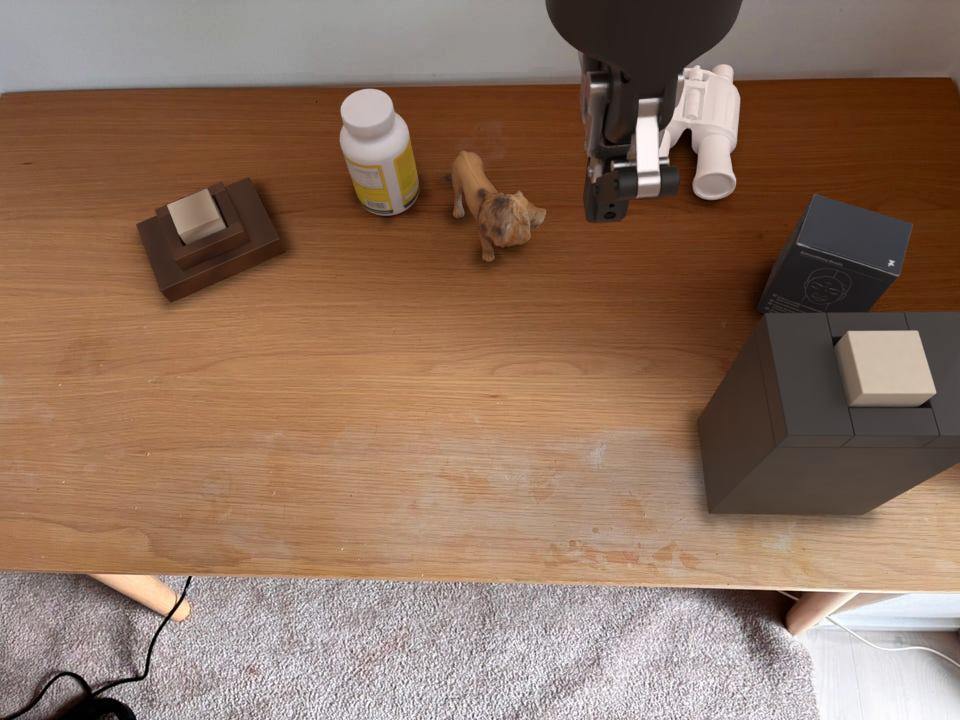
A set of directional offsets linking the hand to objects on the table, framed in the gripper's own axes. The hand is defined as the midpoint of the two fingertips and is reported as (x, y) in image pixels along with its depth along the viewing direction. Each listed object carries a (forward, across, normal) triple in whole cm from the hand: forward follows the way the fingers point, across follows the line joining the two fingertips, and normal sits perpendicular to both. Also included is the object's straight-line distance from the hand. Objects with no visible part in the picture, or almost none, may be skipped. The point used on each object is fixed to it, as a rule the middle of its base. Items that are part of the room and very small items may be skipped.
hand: (603, 212), depth 39 cm
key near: (+6, +8, +16) cm, 19 cm away
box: (+24, -7, +22) cm, 34 cm away
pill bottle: (+24, -23, -16) cm, 37 cm away
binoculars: (+24, -28, +15) cm, 40 cm away
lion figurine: (+24, -18, -6) cm, 31 cm away
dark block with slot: (+24, +8, +16) cm, 30 cm away
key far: (+21, -19, -34) cm, 44 cm away
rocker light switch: (+24, -19, -34) cm, 46 cm away
